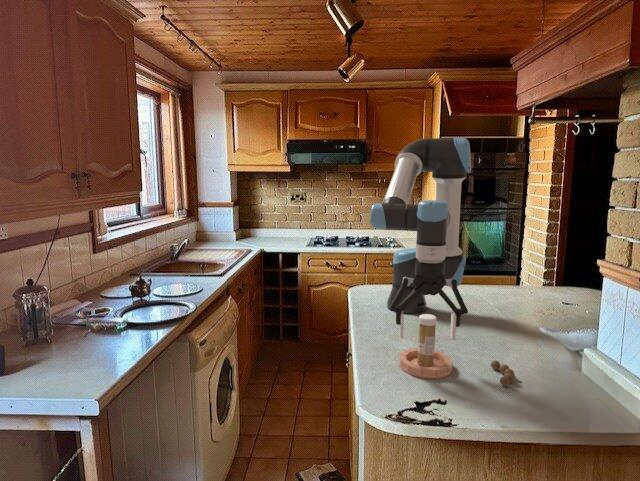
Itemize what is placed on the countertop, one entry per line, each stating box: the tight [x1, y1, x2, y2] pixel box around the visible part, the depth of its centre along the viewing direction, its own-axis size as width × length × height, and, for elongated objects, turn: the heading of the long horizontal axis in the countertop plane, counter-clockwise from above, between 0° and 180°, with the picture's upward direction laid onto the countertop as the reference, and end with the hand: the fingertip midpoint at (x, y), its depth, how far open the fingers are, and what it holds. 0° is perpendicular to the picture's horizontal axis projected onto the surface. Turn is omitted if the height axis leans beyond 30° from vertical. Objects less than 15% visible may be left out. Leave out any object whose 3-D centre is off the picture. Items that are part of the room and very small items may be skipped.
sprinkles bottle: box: [417, 313, 438, 367], centre depth 114 cm, size 5×5×14 cm
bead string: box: [490, 360, 515, 387], centre depth 110 cm, size 12×5×2 cm, turn 174°
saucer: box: [398, 347, 453, 380], centre depth 115 cm, size 14×14×2 cm
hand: (426, 336), depth 115 cm, fingers open, 13 cm apart
